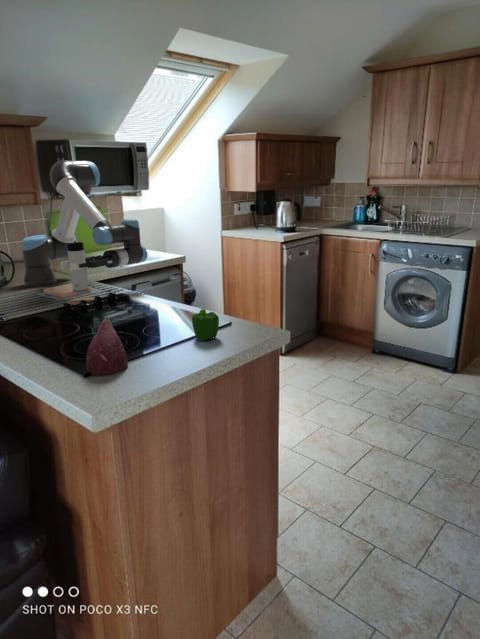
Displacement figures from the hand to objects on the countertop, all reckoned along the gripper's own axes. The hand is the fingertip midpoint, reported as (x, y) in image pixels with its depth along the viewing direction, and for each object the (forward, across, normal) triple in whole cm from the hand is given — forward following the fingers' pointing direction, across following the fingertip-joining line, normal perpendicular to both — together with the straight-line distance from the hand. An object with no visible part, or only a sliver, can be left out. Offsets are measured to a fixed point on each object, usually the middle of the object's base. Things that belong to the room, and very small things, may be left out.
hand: (65, 266), depth 182 cm
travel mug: (-5, 0, -11) cm, 12 cm away
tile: (-18, +20, -14) cm, 30 cm away
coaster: (-5, 0, -16) cm, 17 cm away
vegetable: (+31, -68, -17) cm, 76 cm away
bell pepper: (-2, -72, -17) cm, 74 cm away
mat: (-12, +20, -16) cm, 28 cm away
